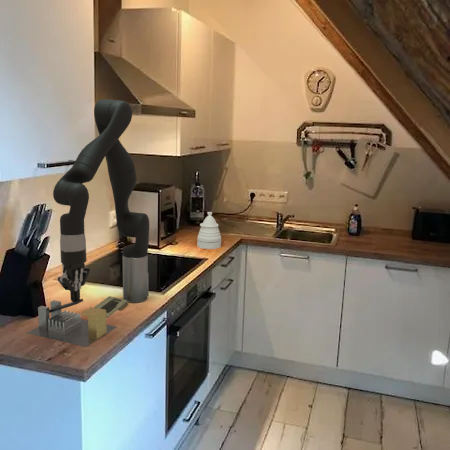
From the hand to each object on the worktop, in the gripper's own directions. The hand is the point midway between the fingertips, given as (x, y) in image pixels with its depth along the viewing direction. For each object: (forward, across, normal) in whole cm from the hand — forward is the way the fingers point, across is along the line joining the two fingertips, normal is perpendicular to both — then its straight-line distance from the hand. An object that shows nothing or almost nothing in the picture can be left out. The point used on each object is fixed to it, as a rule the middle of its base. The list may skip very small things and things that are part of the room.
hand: (75, 301), depth 157 cm
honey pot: (+10, -120, -8) cm, 121 cm away
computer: (+12, -20, -2) cm, 23 cm away
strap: (+3, 0, -4) cm, 5 cm away
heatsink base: (+11, 0, -2) cm, 11 cm away
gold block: (+10, 0, +7) cm, 12 cm away
